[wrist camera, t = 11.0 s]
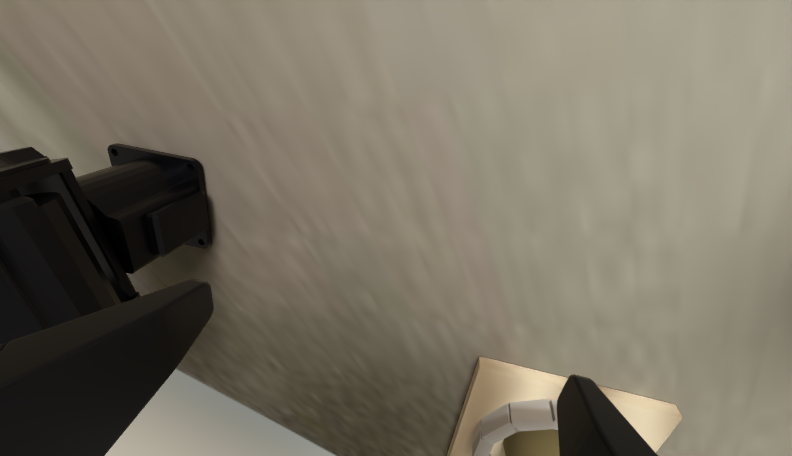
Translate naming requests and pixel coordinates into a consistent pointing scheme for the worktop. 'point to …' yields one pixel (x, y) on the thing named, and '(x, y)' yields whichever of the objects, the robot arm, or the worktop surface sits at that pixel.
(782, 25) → the worktop surface
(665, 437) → the seat
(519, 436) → the cork
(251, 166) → the worktop surface
